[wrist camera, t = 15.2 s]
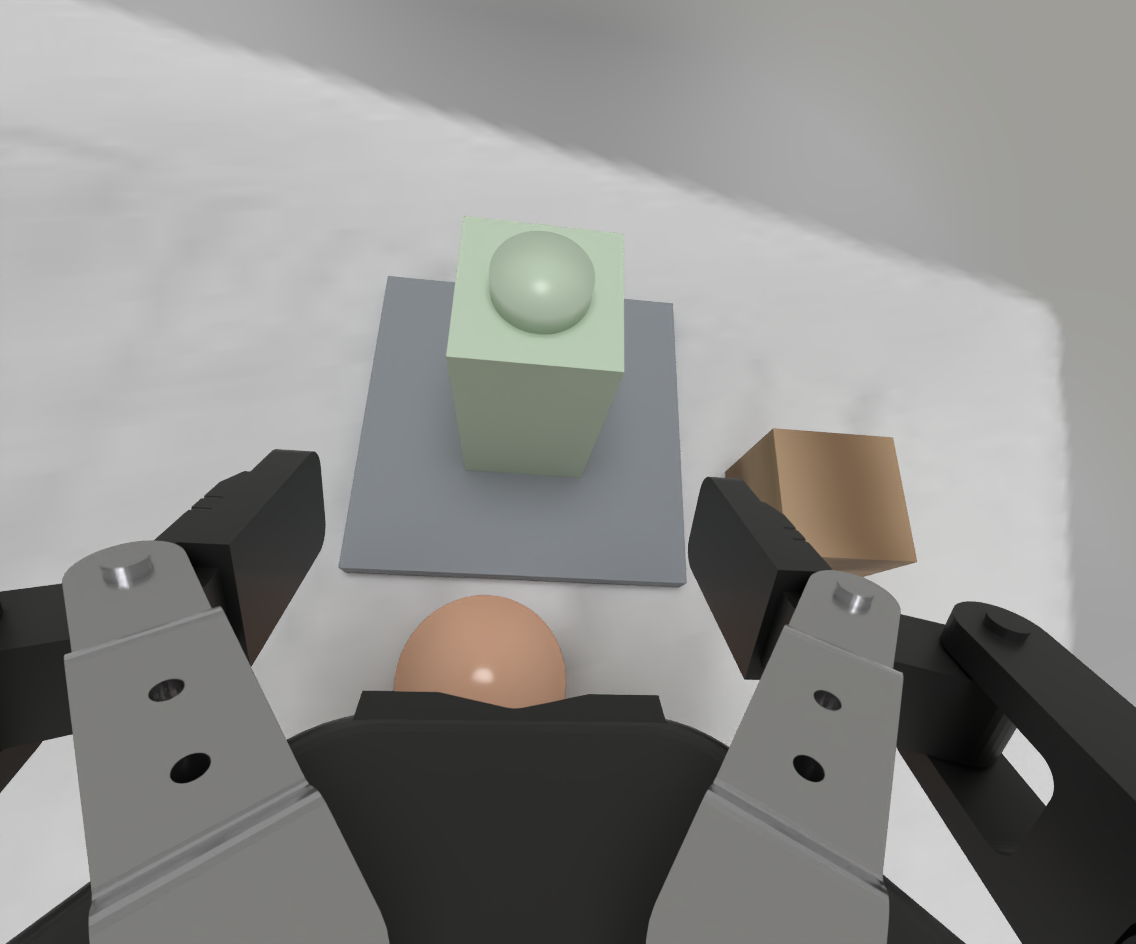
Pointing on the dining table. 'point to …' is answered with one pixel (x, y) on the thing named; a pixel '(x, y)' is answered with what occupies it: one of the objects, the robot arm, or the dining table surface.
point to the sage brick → (534, 344)
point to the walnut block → (835, 495)
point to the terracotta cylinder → (484, 654)
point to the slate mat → (508, 500)
